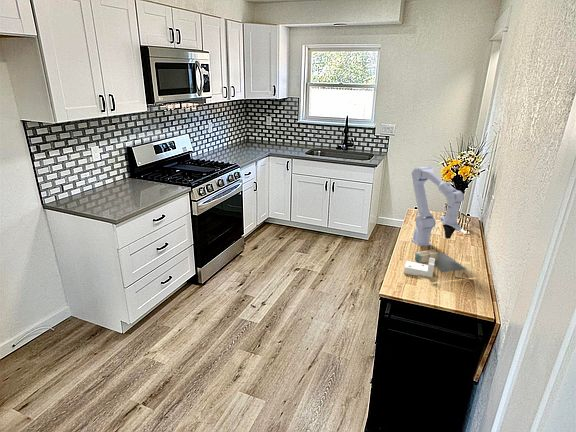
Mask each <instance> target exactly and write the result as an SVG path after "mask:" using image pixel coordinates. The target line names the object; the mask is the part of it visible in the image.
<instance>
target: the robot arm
mask: <svg viewBox="0 0 576 432" xmlns="http://www.w3.org/2000/svg"><path fill="white" fill-rule="evenodd" d="M411 177H412V185H413V190H414V196H415V200H416V205H417V210H418V214H417V215H416V216H415V228H414V231H413V236H412V239H411V241H412V242H413V243H415V244H417V245H418V246H419V247H424V246H433V244H432V243H431V242H430V241H431V237H432V235H431V234H432V230H433V228H435V227H436V224H437V223H436V222H437V221H436V219H435V218H434V215H433V213H432V212H430V211H429V205H428V200H427V195H426V191H425V190H426V189H425V184H426V182H427V181H428V180H429V181H431V182H432V183H433V184H434V185H436V186H437V187H438V191H439V192H440V193H441V194H443V195H444V197H446V202H447V203H446V204H447V206H446V212H445V216H441V217H440V219H439V220H440V222H442V224H443V225H442V227H443V230H444V237H445V239H447V240H448V239H451V238H452V236H453V234H454V232H455V231H459V232H460V231H462V227H461V225H459V223H458V218H459V217H458V216H459V213H460V206H461V202H463V201H464V200H465V194H464V193H463V192H462V190H457V189H456V188H454V187H453V186H452V185H451V183H450V182H448V181H444V180H443V179H441V178H440V176H439V175H437V173H436V172H435V170H434V168H432V167H431V166H429V165H428V166H422V167H414V169H412V172H411Z"/></svg>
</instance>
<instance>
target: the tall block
mask: <svg viewBox="0 0 576 432" xmlns="http://www.w3.org/2000/svg"><path fill="white" fill-rule="evenodd" d="M438 253H439V252H438V251H436V250H435V249H427V250H422V251H416V252H415V253H414V254H415V255H414V259H415V260H416V261H417V263H421V264H425V263H429V258H434V259H435V261H438Z"/></svg>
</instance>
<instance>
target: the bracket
mask: <svg viewBox="0 0 576 432" xmlns="http://www.w3.org/2000/svg"><path fill="white" fill-rule="evenodd" d="M434 263H435V259H434V258H429V262H428V264H425V263H419V262H414V261H410V260H406V261H405V265H404V268H403V269H404V270H403V274H407V275H413V276H417V277H419V276H423V277H429V278H433V274H434V268H435V266H434Z"/></svg>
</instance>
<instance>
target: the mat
mask: <svg viewBox="0 0 576 432" xmlns="http://www.w3.org/2000/svg"><path fill="white" fill-rule="evenodd" d="M434 268H436V269H437V270H439V271H440V272H441V273H445V272H455V271H464V270H467V268H466V267H465V266H463V265H462V264H460V263H459V262H458V261H456V260H455V259H453V257H450V256H449V255H448V254H446V253H445V252H438V261H435V263H434Z"/></svg>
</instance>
